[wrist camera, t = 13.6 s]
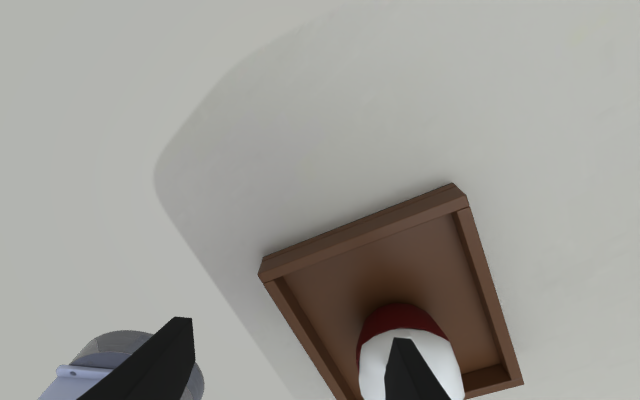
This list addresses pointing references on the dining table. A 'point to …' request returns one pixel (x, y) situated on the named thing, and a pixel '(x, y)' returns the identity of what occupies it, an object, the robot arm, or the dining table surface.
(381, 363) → the cocoa
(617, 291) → the dining table surface
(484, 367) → the tray
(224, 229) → the dining table surface
